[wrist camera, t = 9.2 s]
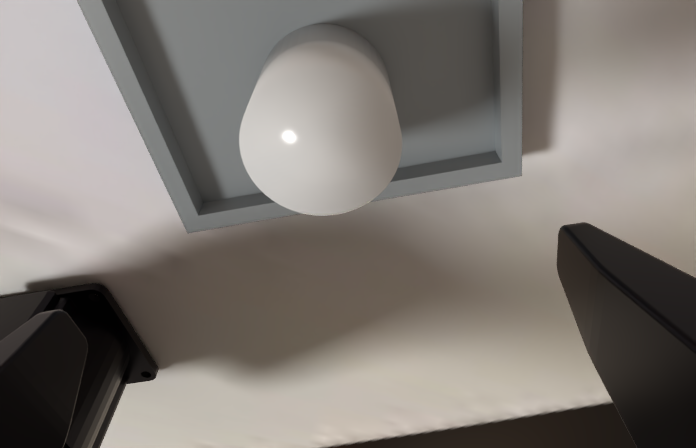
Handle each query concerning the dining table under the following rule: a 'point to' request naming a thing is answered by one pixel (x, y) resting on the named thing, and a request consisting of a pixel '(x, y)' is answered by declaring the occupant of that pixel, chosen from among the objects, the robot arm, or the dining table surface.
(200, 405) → the dining table surface
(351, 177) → the pebble grey
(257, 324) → the dining table surface
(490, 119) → the parts tray
